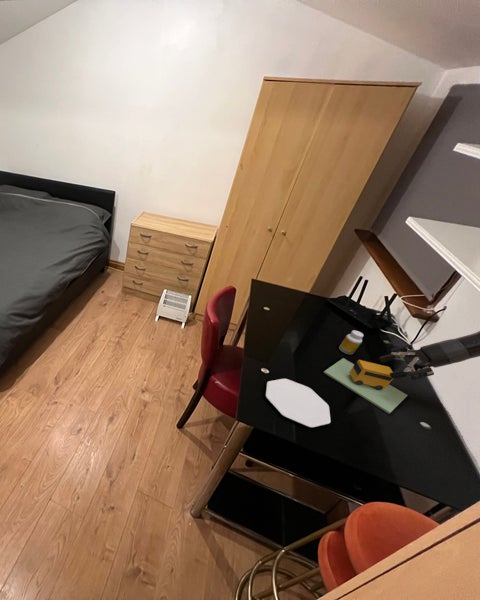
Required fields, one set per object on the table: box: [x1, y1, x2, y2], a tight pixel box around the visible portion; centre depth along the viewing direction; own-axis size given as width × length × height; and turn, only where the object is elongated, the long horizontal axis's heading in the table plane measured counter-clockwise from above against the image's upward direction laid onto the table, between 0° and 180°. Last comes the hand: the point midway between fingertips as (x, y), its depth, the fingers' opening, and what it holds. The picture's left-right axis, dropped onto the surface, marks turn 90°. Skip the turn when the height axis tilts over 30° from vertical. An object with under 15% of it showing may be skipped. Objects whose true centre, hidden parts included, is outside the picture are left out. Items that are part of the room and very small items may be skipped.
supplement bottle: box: [338, 329, 364, 355], centre depth 137 cm, size 5×5×10 cm
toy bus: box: [349, 359, 394, 390], centre depth 121 cm, size 10×5×8 cm, turn 72°
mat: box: [323, 357, 408, 415], centre depth 123 cm, size 22×16×1 cm
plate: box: [265, 378, 332, 429], centre depth 112 cm, size 20×20×2 cm
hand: (385, 367), depth 117 cm, fingers open, 8 cm apart
